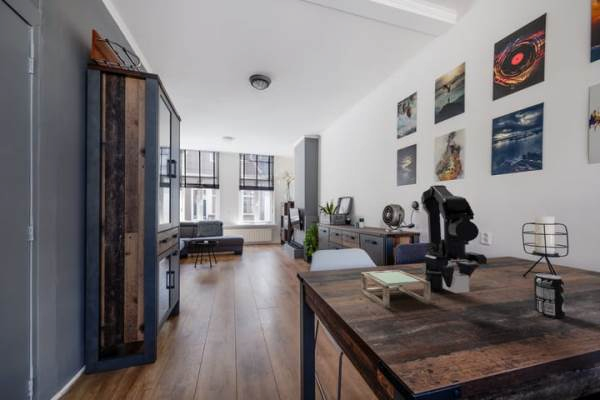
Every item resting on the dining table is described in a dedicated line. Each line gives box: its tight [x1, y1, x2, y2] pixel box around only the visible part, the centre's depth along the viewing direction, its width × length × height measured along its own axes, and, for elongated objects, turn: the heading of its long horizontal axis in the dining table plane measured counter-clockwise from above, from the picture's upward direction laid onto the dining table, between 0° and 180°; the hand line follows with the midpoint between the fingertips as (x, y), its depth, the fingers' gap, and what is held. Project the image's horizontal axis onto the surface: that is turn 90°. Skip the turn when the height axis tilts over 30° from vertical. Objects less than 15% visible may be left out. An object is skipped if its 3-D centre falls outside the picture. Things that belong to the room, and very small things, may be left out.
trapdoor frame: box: [360, 269, 432, 309], centre depth 91 cm, size 18×18×8 cm
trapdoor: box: [369, 272, 421, 286], centre depth 92 cm, size 13×13×1 cm
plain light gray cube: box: [443, 271, 470, 294], centre depth 77 cm, size 5×5×5 cm
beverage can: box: [533, 273, 566, 319], centre depth 77 cm, size 7×7×12 cm
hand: (455, 286), depth 77 cm, fingers closed on plain light gray cube, 5 cm apart
